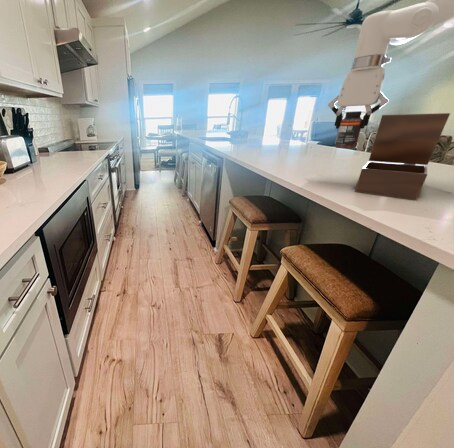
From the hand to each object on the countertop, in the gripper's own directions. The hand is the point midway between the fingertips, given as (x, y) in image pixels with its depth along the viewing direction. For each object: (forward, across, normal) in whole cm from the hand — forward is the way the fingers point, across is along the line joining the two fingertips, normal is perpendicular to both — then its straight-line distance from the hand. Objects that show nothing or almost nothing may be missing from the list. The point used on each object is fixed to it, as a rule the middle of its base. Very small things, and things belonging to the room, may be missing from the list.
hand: (349, 127), depth 80 cm
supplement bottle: (+7, 0, 0) cm, 7 cm away
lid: (+4, -14, -4) cm, 15 cm away
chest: (+19, -14, +1) cm, 24 cm away
